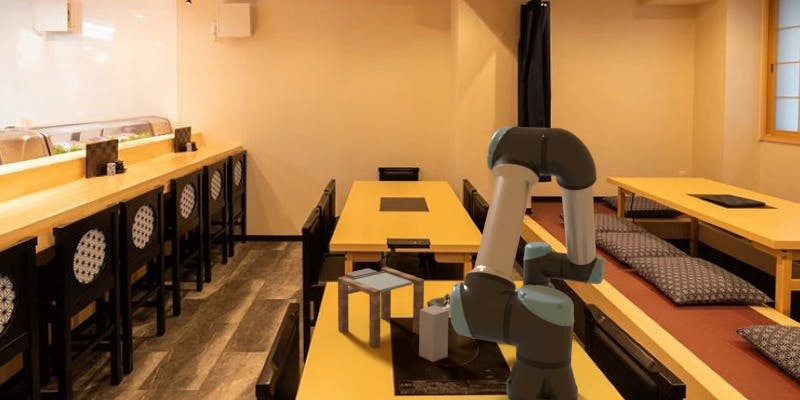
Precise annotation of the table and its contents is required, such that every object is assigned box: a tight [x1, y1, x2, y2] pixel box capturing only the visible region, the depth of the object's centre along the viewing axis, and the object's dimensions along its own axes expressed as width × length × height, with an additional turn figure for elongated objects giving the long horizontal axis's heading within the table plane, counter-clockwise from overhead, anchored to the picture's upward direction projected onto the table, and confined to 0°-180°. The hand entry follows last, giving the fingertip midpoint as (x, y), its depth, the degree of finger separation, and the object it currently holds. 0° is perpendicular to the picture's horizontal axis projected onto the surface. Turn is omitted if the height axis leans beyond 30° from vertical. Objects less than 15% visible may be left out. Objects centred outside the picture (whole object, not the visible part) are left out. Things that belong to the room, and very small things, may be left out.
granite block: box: [418, 305, 449, 363], centre depth 155 cm, size 5×5×12 cm
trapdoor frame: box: [337, 266, 425, 349], centre depth 171 cm, size 16×17×15 cm
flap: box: [345, 268, 413, 294], centre depth 172 cm, size 17×12×2 cm
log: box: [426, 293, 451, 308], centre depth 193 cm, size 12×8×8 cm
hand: (460, 320), depth 161 cm, fingers open, 13 cm apart
